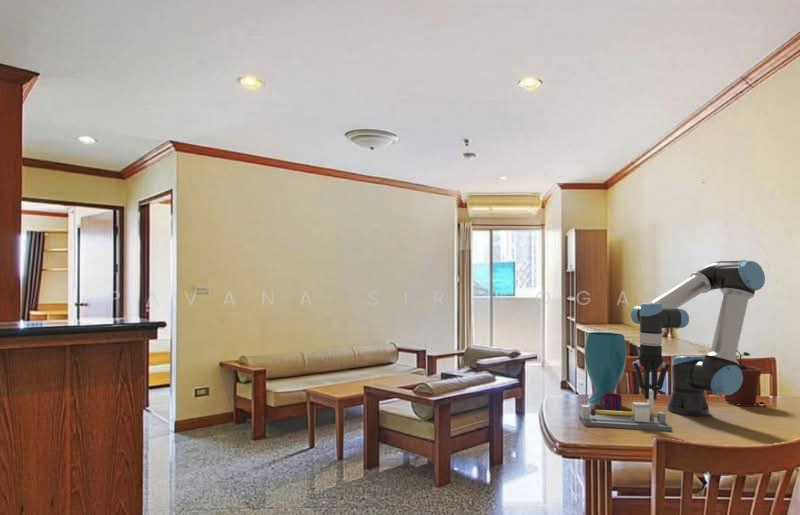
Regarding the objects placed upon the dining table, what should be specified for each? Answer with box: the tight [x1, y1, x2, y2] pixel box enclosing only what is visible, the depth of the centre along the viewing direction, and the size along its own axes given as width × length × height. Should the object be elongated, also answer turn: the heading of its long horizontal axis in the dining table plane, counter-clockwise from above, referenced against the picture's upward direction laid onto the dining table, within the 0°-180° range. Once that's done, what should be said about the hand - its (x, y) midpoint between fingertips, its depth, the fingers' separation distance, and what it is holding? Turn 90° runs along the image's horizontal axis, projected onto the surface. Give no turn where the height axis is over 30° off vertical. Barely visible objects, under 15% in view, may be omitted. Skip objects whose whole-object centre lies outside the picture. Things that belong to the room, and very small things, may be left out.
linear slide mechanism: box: [578, 404, 673, 432], centre depth 203 cm, size 30×12×6 cm, turn 81°
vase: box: [584, 331, 627, 406], centre depth 240 cm, size 17×17×30 cm
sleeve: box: [631, 401, 651, 422], centre depth 202 cm, size 5×5×6 cm
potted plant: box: [724, 349, 766, 405], centre depth 245 cm, size 18×22×25 cm
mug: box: [599, 393, 622, 411], centre depth 222 cm, size 7×10×7 cm
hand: (650, 408), depth 202 cm, fingers closed
